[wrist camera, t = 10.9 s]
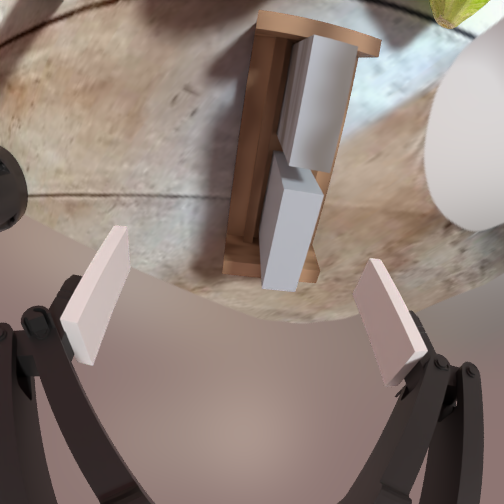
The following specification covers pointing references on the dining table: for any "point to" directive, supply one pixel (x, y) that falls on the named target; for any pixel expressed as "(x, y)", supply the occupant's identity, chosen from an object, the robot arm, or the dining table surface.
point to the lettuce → (454, 11)
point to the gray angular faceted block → (287, 223)
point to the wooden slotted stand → (289, 120)
